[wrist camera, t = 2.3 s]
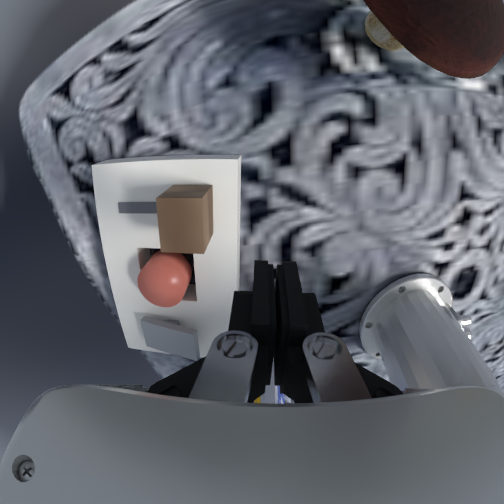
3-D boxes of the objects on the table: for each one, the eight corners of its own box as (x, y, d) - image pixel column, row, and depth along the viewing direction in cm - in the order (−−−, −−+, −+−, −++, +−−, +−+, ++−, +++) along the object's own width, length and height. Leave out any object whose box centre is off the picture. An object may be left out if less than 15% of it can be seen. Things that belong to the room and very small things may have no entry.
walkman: (284, 395, 37) (286, 468, 27) (265, 397, 38) (263, 470, 27) (275, 359, 34) (275, 443, 23) (253, 362, 35) (247, 445, 24)
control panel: (241, 154, 24) (236, 160, 21) (239, 342, 33) (236, 366, 30) (107, 159, 25) (86, 167, 21) (136, 332, 34) (125, 352, 30)
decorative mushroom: (395, 111, 21) (513, 118, 8) (296, 34, 19) (331, -57, 6) (446, 41, 17) (553, 18, 4) (359, -32, 15) (421, -113, 1)
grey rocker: (196, 329, 26) (193, 335, 26) (200, 355, 28) (197, 361, 27) (144, 315, 28) (140, 320, 27) (150, 341, 29) (146, 346, 29)
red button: (190, 250, 26) (182, 265, 23) (193, 291, 28) (186, 309, 25) (146, 248, 26) (133, 262, 23) (152, 287, 28) (141, 304, 25)
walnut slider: (212, 184, 22) (201, 198, 18) (213, 232, 24) (203, 254, 20) (173, 184, 22) (155, 198, 19) (176, 231, 24) (160, 252, 20)
